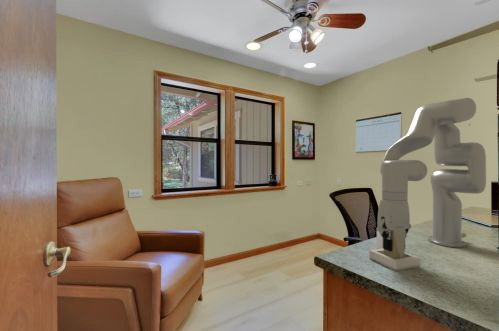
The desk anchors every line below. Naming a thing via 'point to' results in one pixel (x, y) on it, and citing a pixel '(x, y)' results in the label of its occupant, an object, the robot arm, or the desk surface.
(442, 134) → the robot arm
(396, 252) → the box
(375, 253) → the shallow square tray
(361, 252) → the desk surface
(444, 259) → the desk surface
